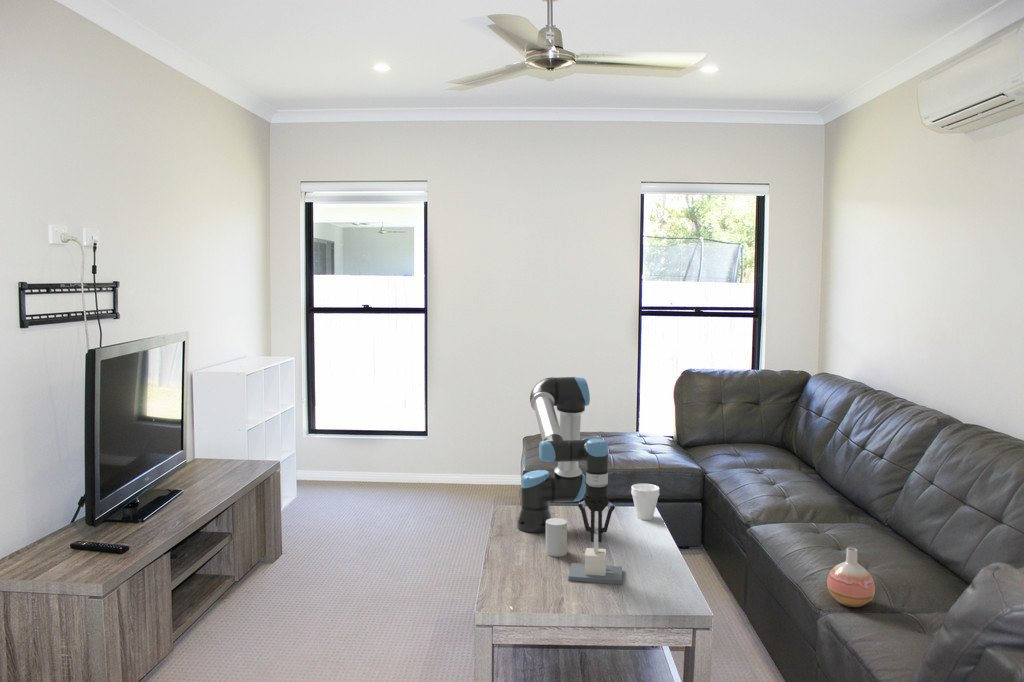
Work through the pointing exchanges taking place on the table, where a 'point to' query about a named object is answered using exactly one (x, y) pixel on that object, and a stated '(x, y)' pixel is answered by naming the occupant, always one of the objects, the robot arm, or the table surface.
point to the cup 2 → (645, 500)
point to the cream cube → (595, 562)
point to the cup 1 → (556, 537)
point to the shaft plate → (610, 577)
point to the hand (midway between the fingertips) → (596, 550)
